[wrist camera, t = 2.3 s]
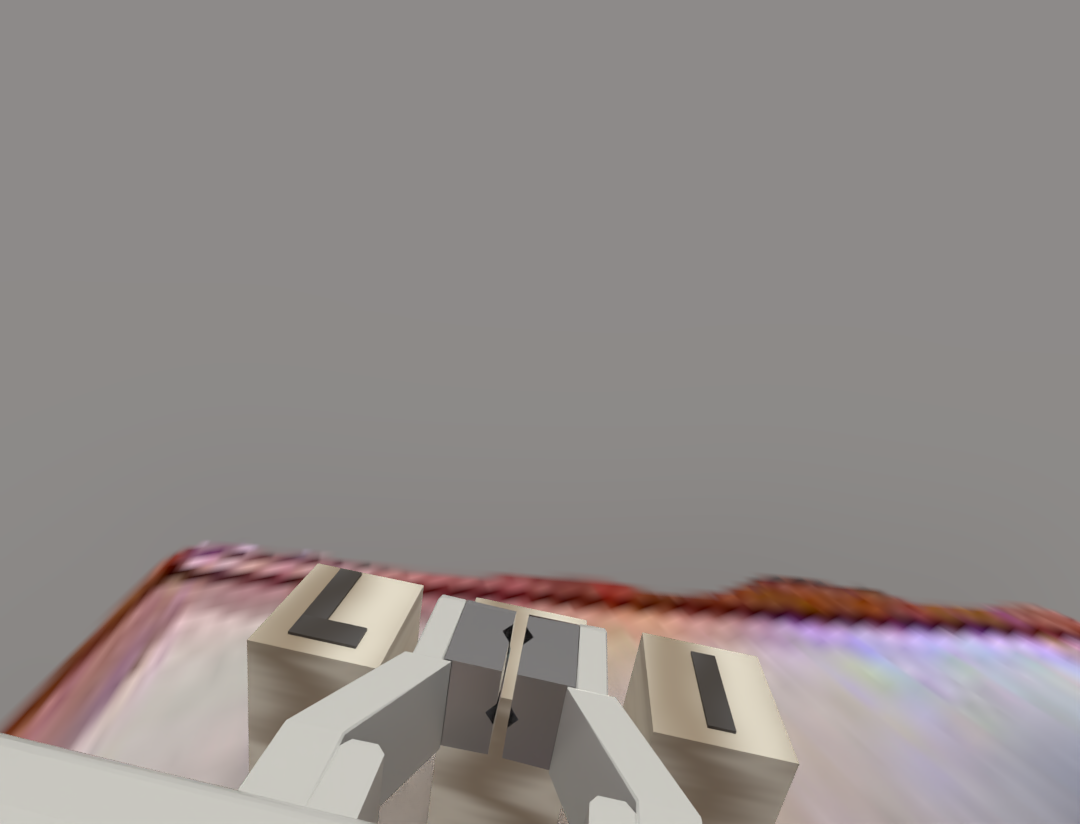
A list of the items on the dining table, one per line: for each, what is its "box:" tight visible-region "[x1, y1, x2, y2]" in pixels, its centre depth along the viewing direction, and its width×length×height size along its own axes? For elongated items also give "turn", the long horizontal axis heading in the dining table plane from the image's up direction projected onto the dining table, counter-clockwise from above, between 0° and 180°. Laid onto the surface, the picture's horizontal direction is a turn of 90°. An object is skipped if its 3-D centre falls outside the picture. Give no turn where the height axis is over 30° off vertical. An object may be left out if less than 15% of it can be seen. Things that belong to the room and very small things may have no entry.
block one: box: [623, 633, 799, 824], centre depth 26 cm, size 6×6×11 cm
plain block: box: [427, 598, 587, 824], centre depth 26 cm, size 6×6×11 cm
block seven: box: [247, 564, 424, 808], centre depth 27 cm, size 6×6×11 cm
